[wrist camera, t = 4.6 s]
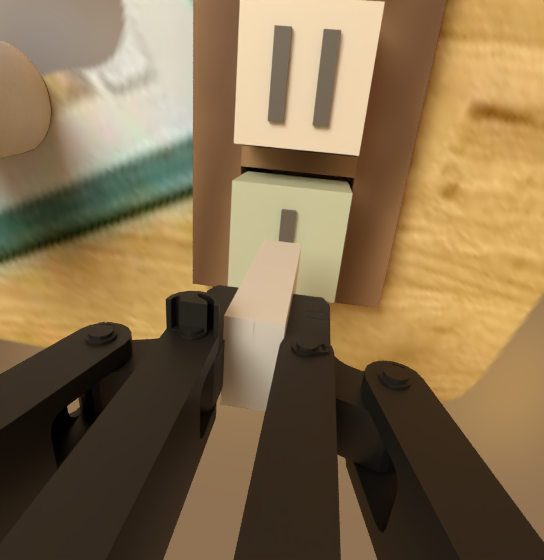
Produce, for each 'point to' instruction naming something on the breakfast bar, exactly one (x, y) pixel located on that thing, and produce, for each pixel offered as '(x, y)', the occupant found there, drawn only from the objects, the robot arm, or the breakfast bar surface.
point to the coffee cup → (21, 103)
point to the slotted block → (290, 226)
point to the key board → (362, 169)
